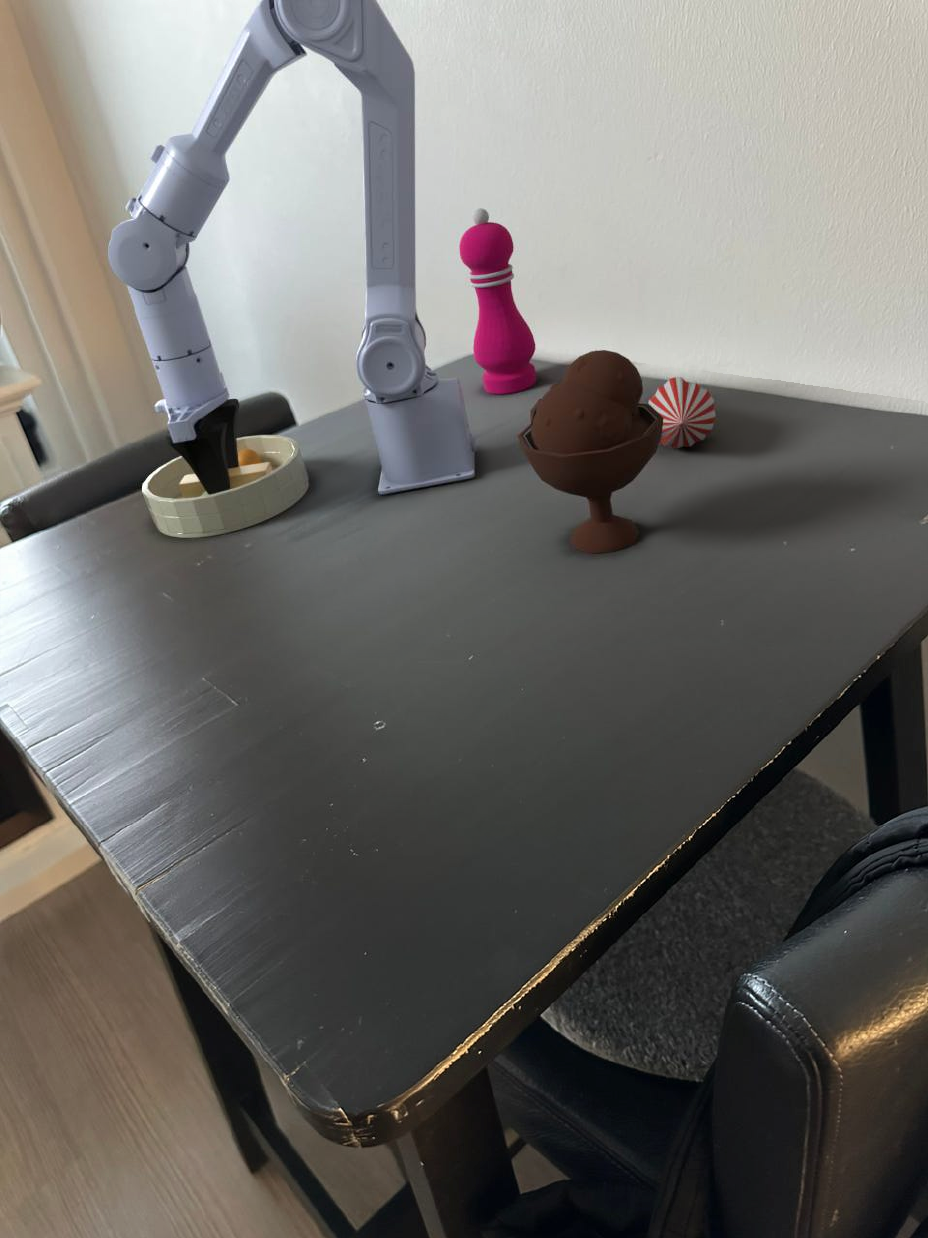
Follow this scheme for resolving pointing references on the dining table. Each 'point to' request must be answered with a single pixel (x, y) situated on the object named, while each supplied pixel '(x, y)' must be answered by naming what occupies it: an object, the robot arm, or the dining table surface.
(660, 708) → the dining table surface
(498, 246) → the pepper mill
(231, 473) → the wooden block
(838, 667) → the dining table surface
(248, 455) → the ball
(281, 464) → the cream round tray
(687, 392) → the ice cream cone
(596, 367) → the ice cream bowl
